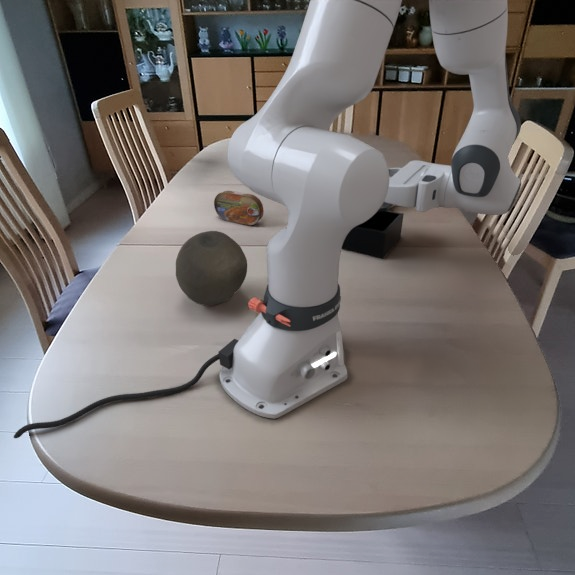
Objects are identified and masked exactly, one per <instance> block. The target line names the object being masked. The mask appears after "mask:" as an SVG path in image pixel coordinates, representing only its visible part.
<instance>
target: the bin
mask: <svg viewBox="0 0 575 575" xmlns="http://www.w3.org/2000/svg"><path fill="white" fill-rule="evenodd" d="M403 222H404V213H403V212H398V211H393V210H388V211H382V212H376V213H375V214H374V215H373V216H372V217H371V218H370V219H368V220H367V221H365V222H364V223H362V224H360V225H357V226H356V227H354V228H353V229H352V230H351V231H350V232H349V233H348V234H347V236H346V238H345V240H344V242H343V245H342V248H341V250H345V251H348V252H353V253H357V254H361V255H364V256H368V257H374V258H377V259H381V260H383V259H384V258H385V257H386V256H387V255H388V253H390V251H391V250H392V249H393V248H394V246H395V245H396V244H397V243H398V242H399V240H401V238H402V231H403V230H402V229H403Z"/></svg>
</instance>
